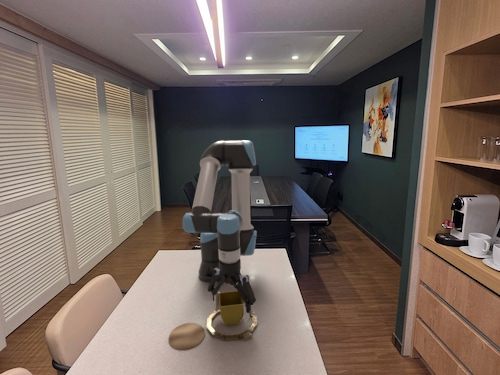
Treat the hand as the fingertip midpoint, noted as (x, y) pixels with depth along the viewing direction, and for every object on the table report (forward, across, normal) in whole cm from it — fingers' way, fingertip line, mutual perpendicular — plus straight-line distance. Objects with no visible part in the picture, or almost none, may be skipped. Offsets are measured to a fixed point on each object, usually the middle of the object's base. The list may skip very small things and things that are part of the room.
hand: (231, 314), depth 102 cm
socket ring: (+3, 0, 0) cm, 3 cm away
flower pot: (+3, 0, 0) cm, 3 cm away
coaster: (+3, -10, -13) cm, 17 cm away
